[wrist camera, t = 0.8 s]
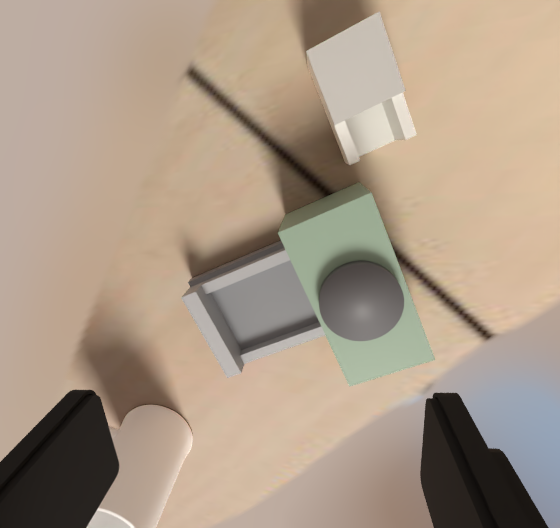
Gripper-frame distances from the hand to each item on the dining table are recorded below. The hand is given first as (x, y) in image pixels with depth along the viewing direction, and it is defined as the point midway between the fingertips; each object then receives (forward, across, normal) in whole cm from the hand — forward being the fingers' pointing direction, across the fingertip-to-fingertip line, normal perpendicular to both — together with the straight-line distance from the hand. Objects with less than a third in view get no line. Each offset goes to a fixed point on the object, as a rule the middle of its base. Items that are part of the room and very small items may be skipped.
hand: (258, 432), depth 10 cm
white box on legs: (+24, -5, -10) cm, 27 cm away
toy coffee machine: (+24, +1, +6) cm, 24 cm away
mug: (+23, +19, +22) cm, 38 cm away
